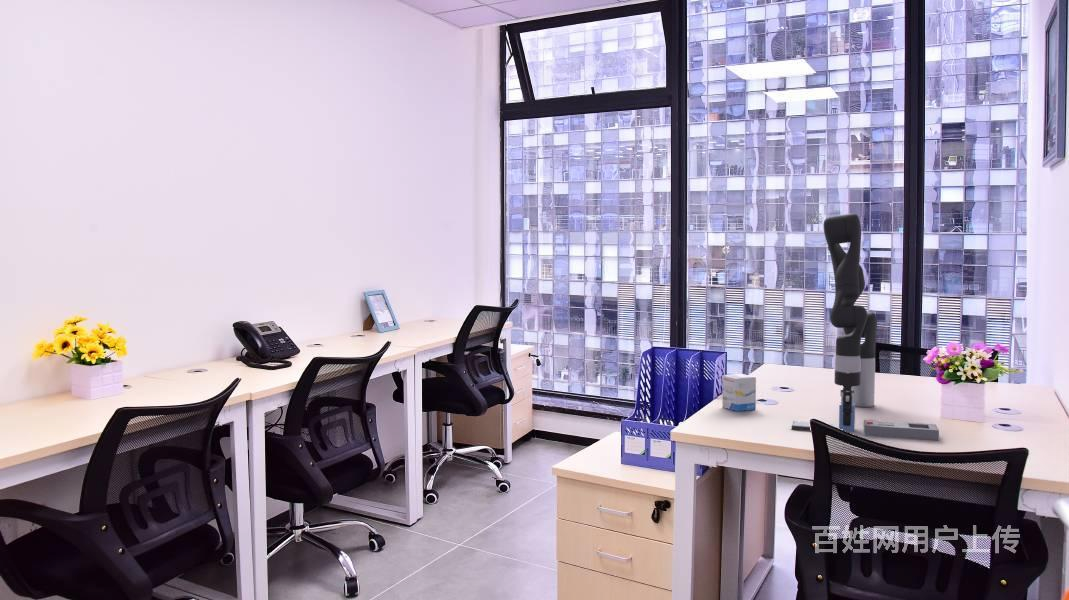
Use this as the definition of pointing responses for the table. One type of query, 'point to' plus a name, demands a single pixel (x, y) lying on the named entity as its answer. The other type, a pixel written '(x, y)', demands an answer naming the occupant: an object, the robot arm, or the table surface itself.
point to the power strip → (901, 429)
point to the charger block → (841, 426)
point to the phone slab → (802, 425)
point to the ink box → (739, 392)
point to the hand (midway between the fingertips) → (846, 423)
